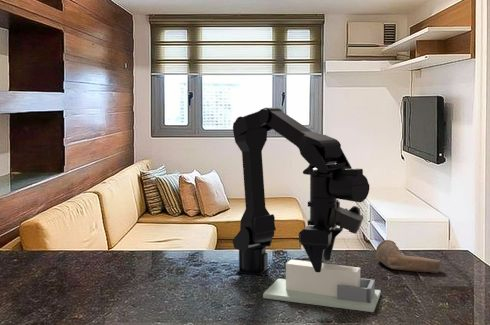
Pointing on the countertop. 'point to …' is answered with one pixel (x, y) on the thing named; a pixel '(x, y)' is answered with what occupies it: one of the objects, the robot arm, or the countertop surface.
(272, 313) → the countertop surface
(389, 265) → the pipe
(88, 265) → the countertop surface
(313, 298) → the bracket board
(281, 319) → the countertop surface
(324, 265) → the block
